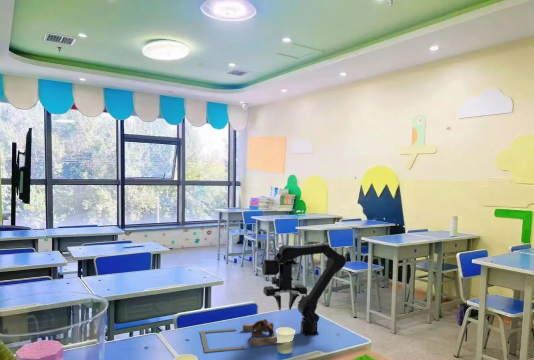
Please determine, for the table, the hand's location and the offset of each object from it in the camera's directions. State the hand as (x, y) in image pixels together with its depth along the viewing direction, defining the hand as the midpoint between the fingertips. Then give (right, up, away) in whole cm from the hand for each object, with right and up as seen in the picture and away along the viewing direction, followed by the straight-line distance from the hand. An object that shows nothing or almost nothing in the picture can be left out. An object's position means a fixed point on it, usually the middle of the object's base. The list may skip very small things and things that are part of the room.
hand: (284, 309), depth 165 cm
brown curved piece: (-9, -11, -3) cm, 15 cm away
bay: (-26, -10, -7) cm, 29 cm away
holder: (-10, -11, -3) cm, 15 cm away
